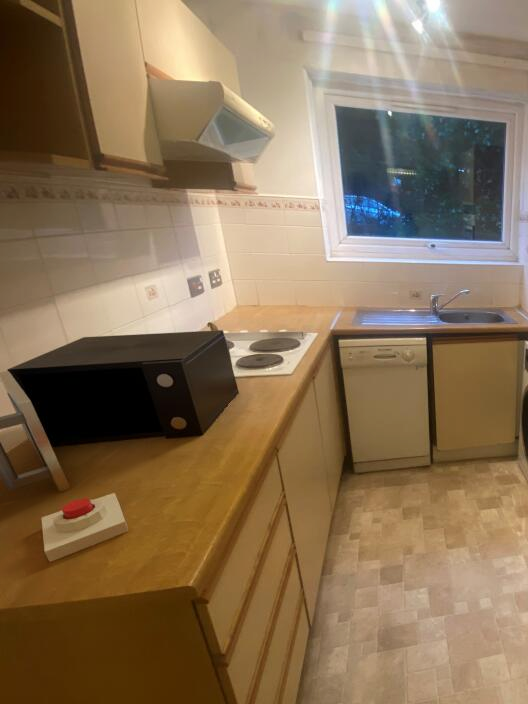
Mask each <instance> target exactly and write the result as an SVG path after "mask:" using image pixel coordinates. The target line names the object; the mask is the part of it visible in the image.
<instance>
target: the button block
mask: <svg viewBox="0 0 528 704" xmlns="http://www.w3.org/2000/svg"><path fill="white" fill-rule="evenodd" d="M89 500H90V501H91V503H92V506H93V510H92V511H91V512H89V513H87V514H86V515H83V516H81V517H78V518H74V519H66V518H65V516H64V513H63V511H62V509H61V510H59V511H56V512H54V513H51V514H48V515H45V516H42V517H41V518H40V519H41V528H42V538H43V549H44V554H45V556H46V558H47V559H48V561H49V563H51V562H54V561H56V560H59V559H61V558H63V557H67V556H69V555H71V554H74V553H76V552H79V551H82V550H84V549H87V548H89V547H92V546H95V545H97V544H99V543H102V542H104V541H107V540H109V539H113V538H115V537H117V536H120V535H122V534H125V533H127V532H129V528H128V524H127V522H126V518H125V516H124V513H123V510H122V508H121V505H120V502H119V500H118V497H117V495H116V493H115V492H112V493H109V494H107V495H104V496H101V497H98V498H95V499H89Z"/></svg>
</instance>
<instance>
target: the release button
mask: <svg viewBox="0 0 528 704" xmlns="http://www.w3.org/2000/svg"><path fill="white" fill-rule="evenodd" d="M90 500H91V499H90V498H79V499H75V500H72V501H70V502H68V503H66V504H65V505H64V506H62V508H61V510H62V511H63V513H64V516H65V518H66V519H74V518H78V517H81V516H83V515H86V514H87V513H89V512H91V511H92V510H93V506H92V503H91V501H90Z"/></svg>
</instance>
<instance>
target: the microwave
mask: <svg viewBox="0 0 528 704" xmlns="http://www.w3.org/2000/svg"><path fill="white" fill-rule="evenodd" d="M225 338H226V336H225V333H224V329H218V330H217V331H211V330H200V331H199V330H197V331H180V332H178V331H177V332H162V333H161V332H159V333H140V334H139V333H137V334H121V335H120V334H119V335H101V336H99V335H98V336H83V337H81V338H79V339H76V340H74V341H72V342H69V343H66V344H64V345H62V346H60V347H57V348H54V349H52V350H50V351H48V352H45V353H43V354H41V355H38V356H35V357H33V358H31V359H28V360H27V361H24V362H22V363H20V364H17V365H14V366H11V367H10V368H7V369H6V371H9V372H10V373H11V375H12V376H13V378H14V379H15V380H16V382H17V383H18V384H19V386H20V387H21V388H22V390H23V391H24V392H25V394H26V395H27V396H28V398H29V399H30V401H31V403H32V405H33V407H34V409H35V411H36V413H37V416H38V418H39V420H40V422H41V424H42V427H43V429H44V431H45V433H46V435H47V438H48V440H49V442H50V444H51V446H52V448H61V447H70V446H81V445H91V444H100V443H102V444H103V443H112V442H121V441H122V442H123V441H132V440H142V439H153V438H154V439H155V438H163V437H165V438H166V439H167V440H169V439H176V438H187V437H188V438H189V437H197V436H204V434H206V433H207V431H209V429H210V428H211V427H212V425H213V424H214V423H215V422H216V421H217V420H218V419H219V417H220V416H221V415H222V414H223V413H224V411H225V410H226V409H227V408H228V406H229V405H230V404H231V403H232V402H233V401H234V400H235V398H236V397H237V396H238V395H239V394H240V392H239V388H238V384H237V380H236V376H235V372H234V369H233V363H232V364H231V362H232V359H231V360H230V356H231V355H230V356H229V352H230V351H229V352H228V348H227V344H226V340H227V339H226V340H225ZM238 393H239V394H238ZM237 394H238V395H237ZM236 395H237V396H236ZM235 396H236V397H235ZM234 397H235V398H234ZM233 399H234V400H233ZM231 401H232V402H231ZM230 402H231V403H230ZM229 403H230V404H229ZM228 404H229V405H228ZM226 407H227V408H226ZM225 408H226V409H225ZM224 409H225V410H224ZM221 413H222V414H221ZM220 414H221V415H220ZM216 419H217V420H216Z"/></svg>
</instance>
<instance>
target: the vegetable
mask: <svg viewBox="0 0 528 704" xmlns="http://www.w3.org/2000/svg"><path fill="white" fill-rule="evenodd" d="M206 326H207V327H208V328H210V331H217V330H219V328H218V327H217V325H216V324H215V323H214V322H211V321H209V322H207V323H206ZM225 340H226V344H227V348H228V352H229V356H230V360H231V364H232V365H233V363H232V356H231V352H230V347H229V344H228V340H227V338H226V337H225Z"/></svg>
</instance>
